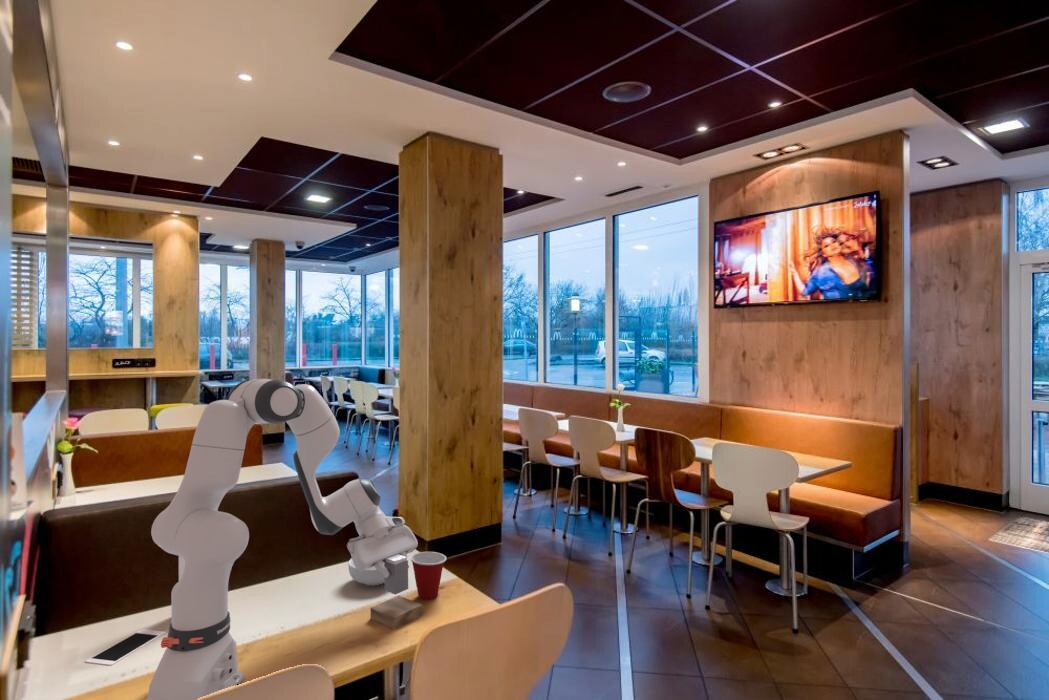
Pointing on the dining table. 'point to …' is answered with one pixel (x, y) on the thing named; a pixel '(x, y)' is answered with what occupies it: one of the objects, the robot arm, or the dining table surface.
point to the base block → (396, 612)
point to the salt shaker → (396, 574)
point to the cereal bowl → (366, 575)
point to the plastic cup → (428, 573)
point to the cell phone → (125, 647)
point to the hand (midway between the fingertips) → (397, 572)
